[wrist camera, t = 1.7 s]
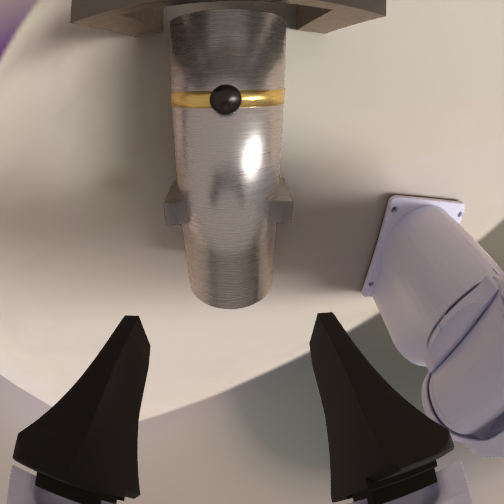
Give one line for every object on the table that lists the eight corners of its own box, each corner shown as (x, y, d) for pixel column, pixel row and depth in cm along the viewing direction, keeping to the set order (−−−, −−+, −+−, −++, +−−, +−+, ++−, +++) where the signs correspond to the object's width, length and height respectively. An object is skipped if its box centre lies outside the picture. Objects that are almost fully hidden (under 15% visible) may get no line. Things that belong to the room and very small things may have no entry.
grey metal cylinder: (274, 254, 21) (285, 309, 16) (187, 255, 20) (177, 311, 16) (286, 30, 12) (311, 13, 8) (172, 32, 12) (143, 16, 7)
